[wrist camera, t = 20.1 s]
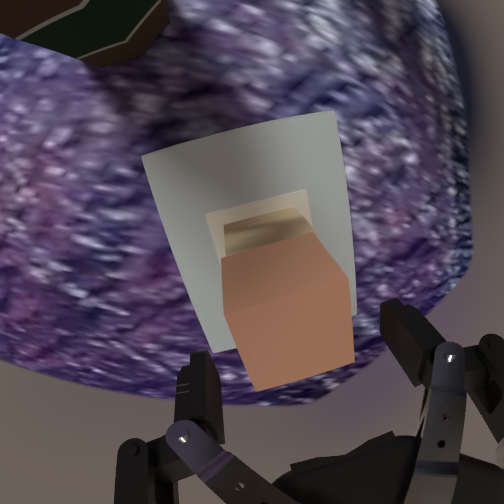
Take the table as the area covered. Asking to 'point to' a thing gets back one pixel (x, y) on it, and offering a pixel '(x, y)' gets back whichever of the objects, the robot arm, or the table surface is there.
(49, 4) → the beer bottle
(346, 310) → the terracotta block
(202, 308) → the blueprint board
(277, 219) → the maple block
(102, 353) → the table surface
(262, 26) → the table surface
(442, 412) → the robot arm
